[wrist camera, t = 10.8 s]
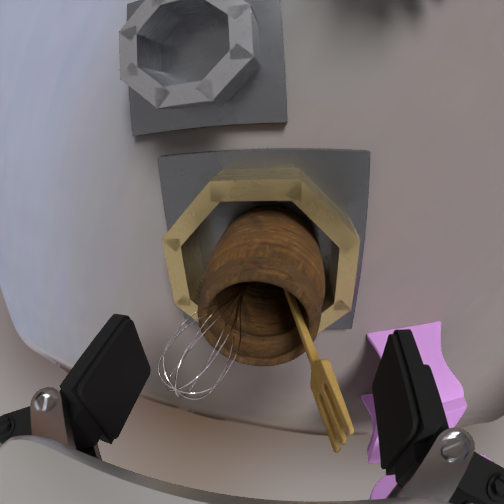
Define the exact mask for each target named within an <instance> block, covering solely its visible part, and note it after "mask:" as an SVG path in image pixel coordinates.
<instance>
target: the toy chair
mask: <svg viewBox="0 0 504 504" xmlns="http://www.w3.org/2000/svg"><path fill="white" fill-rule="evenodd" d="M402 329H410V330H411V331H412V333H413V336H414V339H415V341H416V344H417V347H418V350H419V352H420V355H421V358H422V361H423V364H428V365H429V366H430V368H431V370H432V373H433V376H434V379H435V382H436V385H437V388H438V391H439V395H440V398H441V401H442V404H443V408H444V411H445V415H446V418H447V422H448V426H449V428H454V427H455V425H456V424H457V422H458V421H459V419H460V418H461V417H462V415H463V413H464V411H465V410H466V408H467V404H466V402H465V399H464V397H463V396H464V392H463V388H462V386H461V384H460V382H459V381H458V380H457V379H456V377H455V376H454V375H453V373H452V372H451V371H450V369H449V368H448V366H447V365H446V363H445V361H444V358H443V356H442V351H441V342H440V335H441V322H440V321H439V322H433V323H428V324H423V325H417V326H411V327H405V328H399V329H393V330H386V331H379V332H372V333H367V338H368V340H369V341H370V343H371V344H372V346H373V347H374V349H375V350H376V352H377V353H378V355H379V357H380V359H381V358H382V355H383V352H384V348H385V345H386V342H387V338H388V335H389V334H393V332H394V330H402ZM361 399H362V401H363V402H364V404H365V406H366V408H367V410H368V412H369V414H370V416H371V419H372V423H373V433H372V437H371V440H370V442H369V445H368V448H367V454H368V462H369V463H368V464H372V463H378V462H381V460H380V449H379V439H378V430H377V421H376V413H375V406H374V399H373V393H372V394H365V395H361ZM478 454H479V453H478ZM480 455H481V456H483V457H485V458H487V459H488V460H490V459H489V458H488V457H487V456H485V455H483V454H480ZM490 461H491V460H490ZM396 484H397V482H396V479H395V475H389V476H386V474H385V476H384V477H383V478H382V479H381V480H380V481H378V483H377V484H376V485H375V487H374V488H373V490H372V493H371V496H370V499H369V500H371V499H385V498H386V497H387V496H388V495H389V494H390V492H391V491H392V490H393V488H394V487H395V486H396Z"/></svg>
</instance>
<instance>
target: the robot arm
mask: <svg viewBox="0 0 504 504" xmlns="http://www.w3.org/2000/svg"><path fill="white" fill-rule="evenodd" d="M149 375H150V365H149V363H148V360H147V358H146V355H145V352H144V350H143V347H142V345H141V342H140V339H139V336H138V334H137V331H136V328H135V325H134V322H133V321H132V320H130V317H129V316H126V315H119V314H114V315H112V317H111V318H110V319H109V320H108V322H107V323H106V324H105V325H104V327H103V328H102V329H101V331H100V332H99V333H98V334H97V336H96V337H95V338H94V340H93V341H92V342H91V344H90V345H89V346H88V348H87V349H86V350H85V352H84V353H83V354H82V356H81V357H80V358H79V360H78V361H77V362H76V364H75V365H74V367H73V368H72V369H71V371H70V372H69V373H68V375H67V376H66V378H65V379H64V380H63V382H62V384H61V385H60V388H61V390H60V391H58V390H57V389H55V388H53V387H46V388H42V389H40V390H39V391H37V392H36V393H35V394H34V396H33V397H32V400H31V404H30V406H29V407H26V408H23V409H20V410H17V411H14V412H11V413H8V414H4V415H3V416H0V504H504V468H503V467H501V466H499V465H497V464H495V463H494V462H492V461H490V460H488V459H487V458H485V457H483V456H481V455H480V454H478V453H476V452H475V451H474V450H475V447H474V441H473V438H472V437H471V435H470V434H469V433H468V432H467V431H465V430H463V429H461V428H449V426H448V422H447V418H446V415H445V411H444V408H443V404H442V401H441V398H440V395H439V391H438V388H437V385H436V382H435V379H434V376H433V373H432V370H431V368H430V366H429V365H428V364H423V361H422V358H421V355H420V352H419V350H418V347H417V344H416V341H415V339H414V336H413V333H412V331H411V330H410V329H402V330H394V332H393V334H389V335H388V338H387V342H386V345H385V348H384V352H383V355H382V358H381V361H380V364H379V367H378V370H377V373H376V376H375V379H374V382H373V387H372V392H373V399H374V406H375V413H376V421H377V430H378V439H379V449H380V460H381V467H382V469H386V476H389V475H395V479H396V482H397V484H396V486H395V487H394V488H393V490H392V491H391V492H390V494H389V495H388V496H387V497H386V498H385V499H371V500H360V501H341V502H340V501H339V502H297V501H294V502H293V501H277V500H264V499H254V498H246V497H238V496H231V495H225V494H218V493H213V492H208V491H203V490H198V489H193V488H188V487H184V486H180V485H176V484H172V483H168V482H165V481H161V480H158V479H154V478H151V477H147V476H144V475H141V474H138V473H135V472H132V471H129V470H126V469H123V468H120V467H117V466H115V465H112V464H110V463H107V462H104V461H102V458H101V455H100V452H99V448H98V445H97V443H98V441H99V439H100V440H102V441H104V442H107V443H110V444H112V442H113V440H114V439H116V438H117V437H118V436H119V434H120V432H121V430H122V428H123V426H124V424H125V422H126V420H127V418H128V416H129V414H130V412H131V410H132V408H133V406H134V404H135V402H136V400H137V398H138V396H139V394H140V393H141V391H142V389H143V387H144V385H145V383H146V381H147V379H148V377H149Z"/></svg>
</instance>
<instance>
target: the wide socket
mask: <svg viewBox="0 0 504 504" xmlns="http://www.w3.org/2000/svg"><path fill="white" fill-rule="evenodd" d="M158 165H159V173H160V181H161V188H162V195H163V202H164V209H165V216H166V222H167V228H168V232H167V234H166V235H165V236H164V237H163V238H162V242H163V248H164V253H165V258H166V263H167V268H168V273H169V278H170V283H171V287H172V292H173V297H174V301H175V305H177V306H178V307H179V308H180V309H182V310H183V312H184V316H185V320H186V319H187V318H188V317H190V316H191V315H192V314H194V313H195V312H197V311H198V303H199V297H200V293H201V290H202V288H203V278H204V272H205V269H206V266H207V263H208V261H209V258H210V256H211V254H212V252H213V250H214V248H215V247H216V245H217V243H218V241H219V239H220V238H221V236H222V234H223V233H224V231H225V230H226V228H227V227H228V226H229V224H230V223H231V222H232V221H233V220H234V219H236V218H237V217H238V216H239V215H241V214H242V213H244V212H246V211H248V210H251V209H254V208H257V207H264V206H274V207H280V208H284V209H287V210H290V211H292V212H294V213H296V214H297V215H299V216H300V217H301V218H303V219H304V220H305V221H306V222H307V223H308V224H309V225H310V227H311V228H312V230H313V231H314V233H315V235H316V237H317V239H318V242H319V245H320V249H321V254H322V260H323V266H324V273H325V296H324V300H323V304H322V307H321V321H320V326H319V330H318V333H319V332H321V331H322V330H324V329H352V324H353V318H354V312H355V306H356V300H357V294H358V287H359V281H360V273H361V266H362V258H363V249H364V240H365V231H366V220H367V208H368V194H369V176H370V152H369V151H366V150H346V149H310V148H281V149H244V150H224V151H209V152H196V153H185V154H174V155H165V156H160V157H158ZM196 319H198V316H197V313H196V314H194V315H193V316H192V317H190V318H189V319H188V320H187V321H186V323H192V322H193V321H195V320H196ZM192 324H199V323H198V320H197V321H195V322H194V323H192ZM318 333H317V334H318Z"/></svg>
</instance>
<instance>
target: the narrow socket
mask: <svg viewBox="0 0 504 504" xmlns="http://www.w3.org/2000/svg"><path fill="white" fill-rule="evenodd" d="M119 55H120V80H122V81H124V82H125V83H126V84H127V85H129V97H130V110H131V121H132V131H133V136H137V135H143V134H149V133H156V132H163V131H171V130H179V129H187V128H196V127H206V126H218V125H231V124H248V123H277V122H287V98H286V79H285V61H284V45H283V31H282V18H281V6H280V0H139V1H135V2H132V3H129V4H127V22H126V24H125V25H124V26H123V28H122V29H121V30H120V31H119Z"/></svg>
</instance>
